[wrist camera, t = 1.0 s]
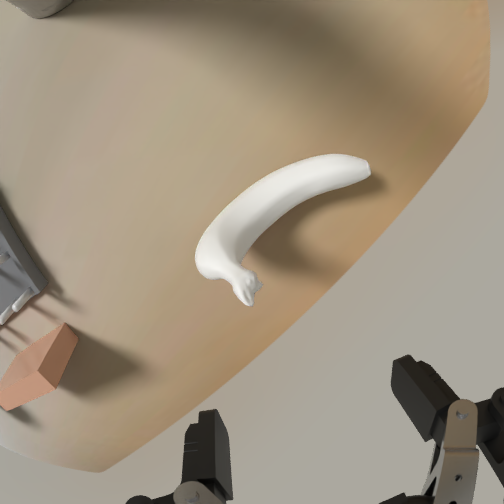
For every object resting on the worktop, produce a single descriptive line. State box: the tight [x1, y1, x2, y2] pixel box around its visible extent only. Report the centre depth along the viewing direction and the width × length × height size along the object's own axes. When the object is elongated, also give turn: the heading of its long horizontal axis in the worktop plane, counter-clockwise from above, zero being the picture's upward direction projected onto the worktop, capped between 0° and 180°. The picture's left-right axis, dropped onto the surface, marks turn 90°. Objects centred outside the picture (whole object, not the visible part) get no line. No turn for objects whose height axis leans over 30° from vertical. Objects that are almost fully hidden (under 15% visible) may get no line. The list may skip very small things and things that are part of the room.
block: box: [0, 323, 79, 411], centre depth 28 cm, size 14×3×10 cm, turn 118°
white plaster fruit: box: [195, 154, 371, 306], centre depth 25 cm, size 5×19×15 cm, turn 122°
